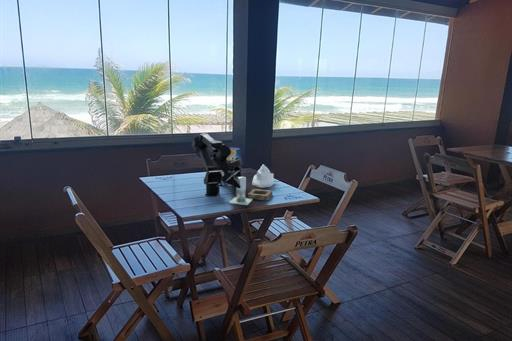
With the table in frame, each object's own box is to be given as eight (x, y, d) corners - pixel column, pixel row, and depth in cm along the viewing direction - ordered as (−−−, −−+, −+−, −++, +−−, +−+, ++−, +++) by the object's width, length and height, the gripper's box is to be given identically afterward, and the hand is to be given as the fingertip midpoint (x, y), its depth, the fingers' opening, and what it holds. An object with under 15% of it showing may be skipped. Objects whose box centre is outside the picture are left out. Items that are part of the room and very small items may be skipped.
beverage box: (219, 183, 230) (219, 148, 225) (235, 182, 235) (236, 147, 230) (223, 186, 224) (224, 150, 219) (240, 184, 229) (241, 149, 224)
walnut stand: (247, 198, 202) (247, 194, 201) (253, 193, 212) (253, 188, 212) (267, 200, 199) (267, 196, 198) (272, 195, 209) (272, 190, 209)
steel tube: (234, 201, 195) (235, 178, 192) (237, 198, 199) (238, 176, 197) (244, 202, 193) (244, 179, 191) (246, 199, 198) (247, 176, 195)
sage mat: (228, 203, 193) (228, 202, 193) (234, 197, 202) (234, 197, 202) (247, 205, 191) (247, 204, 191) (252, 199, 200) (252, 199, 200)
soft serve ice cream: (278, 189, 227) (279, 168, 220) (254, 192, 224) (254, 171, 218) (273, 179, 238) (273, 159, 231) (250, 181, 235) (249, 161, 228)
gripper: (227, 156, 183) (248, 180, 183) (238, 150, 201) (257, 172, 201) (212, 170, 187) (233, 194, 187) (224, 163, 204) (243, 184, 204)
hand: (242, 185), depth 195 cm, fingers open, 9 cm apart
